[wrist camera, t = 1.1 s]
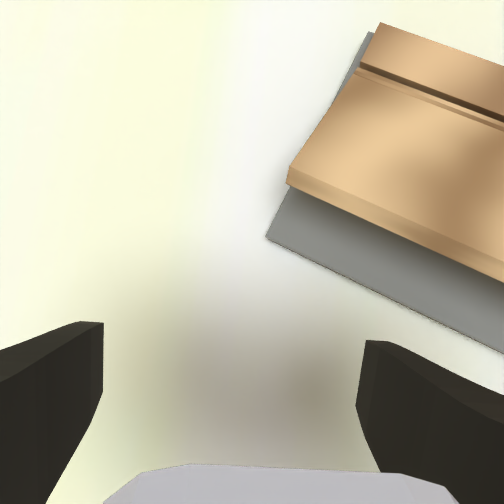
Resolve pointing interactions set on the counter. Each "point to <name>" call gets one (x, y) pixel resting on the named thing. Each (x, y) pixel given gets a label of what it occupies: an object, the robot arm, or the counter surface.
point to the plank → (411, 168)
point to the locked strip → (437, 70)
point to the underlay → (391, 261)
